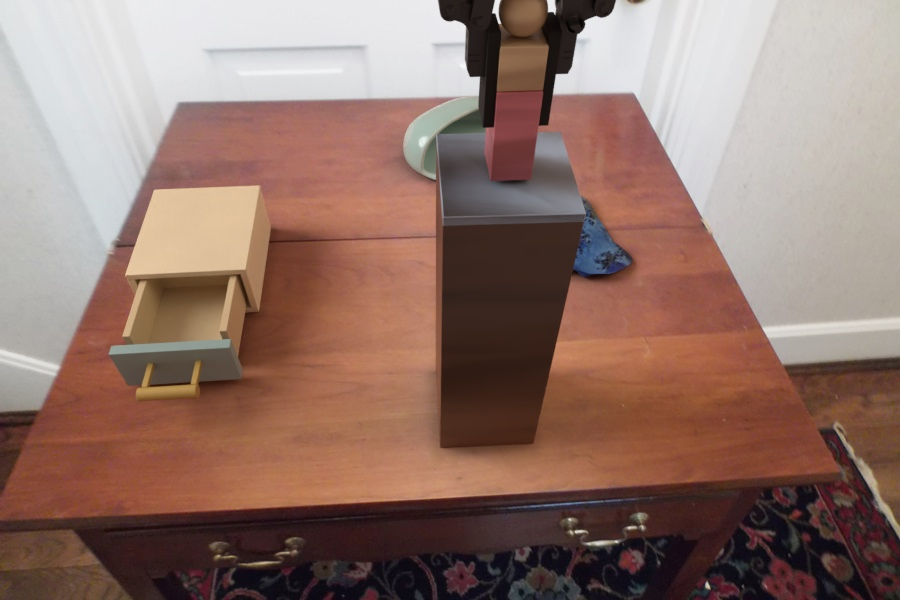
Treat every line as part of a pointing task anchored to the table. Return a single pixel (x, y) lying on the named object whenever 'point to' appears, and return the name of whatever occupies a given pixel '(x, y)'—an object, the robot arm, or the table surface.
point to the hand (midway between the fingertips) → (512, 114)
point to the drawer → (182, 335)
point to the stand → (500, 287)
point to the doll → (518, 90)
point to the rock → (598, 248)
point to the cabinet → (204, 237)
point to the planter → (439, 131)
